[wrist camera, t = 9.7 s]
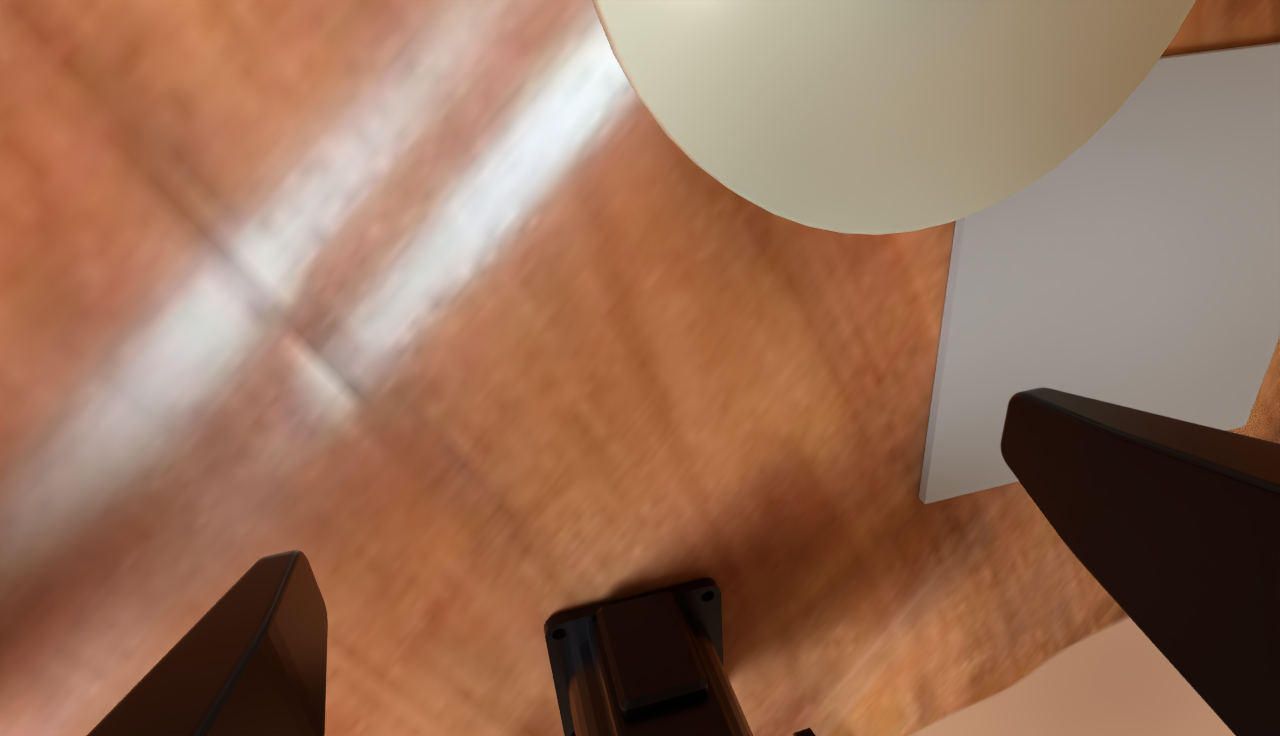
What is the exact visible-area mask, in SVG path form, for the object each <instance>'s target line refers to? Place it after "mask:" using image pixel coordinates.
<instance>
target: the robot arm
mask: <svg viewBox="0 0 1280 736" xmlns="http://www.w3.org/2000/svg"><path fill="white" fill-rule="evenodd" d="M1000 447H1001V453H1002V457H1003V459H1004V461H1005V463H1006V464H1007V466H1008V467H1009V468H1010V470H1011V471H1012V472H1013V474H1014V475H1015V476H1016V478H1017V479H1018V480H1019V482H1020V483H1021V484H1022V486H1023V487H1024V488H1025V490H1026V491H1027V493H1028V494H1029V495H1030V497H1031V498H1032V499H1033V501H1034V502H1035V503H1036V505H1037V506H1038V507H1039V509H1040V510H1041V511H1042V513H1043V514H1044V516H1045V517H1046V518H1047V520H1048V521H1049V522H1050V524H1051V525H1052V526H1053V528H1054V529H1055V530H1056V532H1057V533H1058V534H1059V536H1060V537H1061V538H1062V540H1063V541H1064V542H1065V544H1066V545H1067V546H1068V547H1069V549H1070V550H1071V551H1072V553H1073V554H1074V555H1075V556H1076V557H1077V558H1078V560H1079V561H1080V562H1081V563H1082V564H1083V565H1084V567H1085V568H1086V569H1087V570H1088V571H1089V572H1090V573H1091V574H1092V576H1093V577H1094V578H1095V579H1096V580H1097V581H1098V582H1099V583H1100V585H1101V586H1102V587H1103V588H1104V589H1105V590H1106V591H1107V592H1108V593H1109V595H1110V596H1111V597H1112V598H1113V599H1114V600H1115V601H1116V602H1117V604H1118V605H1119V606H1120V607H1121V608H1122V609H1123V610H1124V611H1125V612H1126V614H1127V615H1128V616H1129V617H1130V618H1131V619H1132V620H1133V621H1134V622H1135V624H1136V625H1137V626H1138V627H1139V628H1140V629H1141V630H1142V631H1143V632H1144V634H1145V635H1146V636H1147V637H1148V638H1149V639H1150V640H1151V641H1152V643H1153V644H1154V645H1155V646H1156V647H1157V648H1158V649H1159V650H1160V652H1161V653H1162V654H1163V655H1164V656H1165V657H1166V658H1167V659H1168V660H1169V662H1170V663H1171V664H1172V665H1173V666H1174V667H1175V668H1176V669H1177V671H1179V673H1180V674H1181V675H1182V676H1183V677H1184V678H1185V679H1186V681H1187V682H1188V683H1189V684H1190V685H1191V686H1192V687H1193V688H1194V690H1195V691H1196V692H1197V693H1198V694H1199V695H1200V696H1201V697H1202V699H1203V700H1204V701H1205V702H1206V703H1207V704H1208V705H1209V706H1210V707H1211V709H1213V711H1214V712H1215V713H1216V714H1217V715H1218V716H1219V717H1220V719H1221V720H1222V721H1223V722H1224V723H1225V724H1226V725H1227V726H1228V728H1229V729H1230V730H1231V731H1232V732H1233V733H1234V734H1235V735H1236V736H1280V444H1278V443H1274V442H1270V441H1266V440H1262V439H1258V438H1254V437H1249V436H1245V435H1241V434H1237V433H1233V432H1229V431H1225V430H1220V429H1216V428H1212V427H1208V426H1204V425H1200V424H1196V423H1191V422H1187V421H1183V420H1179V419H1175V418H1171V417H1166V416H1162V415H1158V414H1154V413H1150V412H1146V411H1142V410H1137V409H1133V408H1129V407H1125V406H1121V405H1117V404H1113V403H1108V402H1104V401H1100V400H1096V399H1092V398H1088V397H1084V396H1079V395H1075V394H1071V393H1067V392H1063V391H1059V390H1055V389H1050V388H1045V387H1042V388H1035V389H1030V390H1026V391H1021V392H1018V393H1016V394H1014V395H1013V396H1012V397H1011V399H1010V400H1009V403H1008V407H1007V412H1006V417H1005V422H1004V427H1003V432H1002V438H1001V444H1000ZM707 591H709V592H707ZM705 592H707V593H705ZM704 593H705V594H704ZM327 629H328V621H327V611H326V606H325V603H324V600H323V597H322V595H321V592H320V590H319V587H318V585H317V582H316V579H315V577H314V574H313V572H312V569H311V567H310V564H309V562H308V559H307V557H306V556H305V555H304V553H303V552H301V551H299V550H292V551H288V552H283V553H278V554H274V555H269V556H265V557H263V558H261V559H259V560H258V561H257V562H256V563H255V564H254V565H253V566H252V567H251V568H250V569H249V570H248V571H247V572H246V573H245V574H244V575H243V576H242V577H241V578H240V579H239V580H238V581H237V582H236V583H235V584H234V585H233V586H232V587H231V589H230V590H229V591H228V592H227V593H226V594H225V595H224V596H223V597H222V598H221V599H220V600H219V601H218V602H217V603H216V604H215V605H214V606H213V607H212V608H211V609H210V610H209V611H208V612H207V613H206V614H205V615H204V616H203V617H202V618H201V619H200V620H199V621H198V622H197V623H196V624H195V625H194V626H193V627H192V628H191V629H190V630H189V631H188V633H187V634H186V635H185V636H184V637H183V638H182V639H181V640H180V641H179V642H178V643H177V644H176V645H175V646H174V647H173V648H172V649H171V650H170V651H169V652H168V653H167V654H166V655H165V656H164V657H163V658H162V659H161V660H160V661H159V662H158V663H157V664H156V665H155V666H154V667H153V668H152V669H151V670H150V671H149V672H148V673H147V674H146V675H145V676H144V678H143V679H142V680H141V681H140V682H139V683H138V684H137V685H136V686H135V687H134V688H133V689H132V690H131V691H130V692H129V693H128V694H127V695H126V696H125V697H124V698H123V699H122V700H121V701H120V702H119V703H118V704H117V705H116V706H115V707H114V708H113V709H112V710H111V711H110V712H109V713H108V714H107V715H106V716H105V717H104V718H103V719H102V720H101V722H100V723H99V724H98V725H97V726H96V727H95V728H94V729H93V730H92V731H91V732H90V733H89V734H88V735H87V736H324V734H325V700H326V664H327ZM557 629H561V630H559V631H555V630H557ZM544 633H545V638H546V643H547V649H548V654H549V659H550V664H551V669H552V674H553V679H554V684H555V689H556V694H557V699H558V704H559V709H560V714H561V719H562V725H563V730H564V735H565V736H753V734H752V732H751V730H750V727H749V725H748V723H747V720H746V718H745V716H744V714H743V711H742V709H741V707H740V704H739V702H738V700H737V697H736V695H735V693H734V691H733V688H732V686H731V684H730V681H729V679H728V677H727V674H726V672H725V670H724V668H723V648H722V616H721V592H720V589H719V587H718V585H717V583H716V581H714V580H713V579H710V578H706V579H700V580H696V581H692V582H688V583H684V584H680V585H676V586H672V587H668V588H664V589H660V590H656V591H652V592H648V593H644V594H640V595H636V596H632V597H628V598H624V599H620V600H616V601H612V602H608V603H604V604H600V605H596V606H592V607H588V608H584V609H580V610H576V611H572V612H568V613H564V614H560V615H556V616H554V617H551V618H550V619H548V620H547V621H546V623H545V624H544ZM793 736H815V734H814V733H813V731H812V730H811V729H810V728H807V729H804V730H801V731H798V732H795V733H794V734H793Z"/></svg>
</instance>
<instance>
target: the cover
mask: <svg viewBox="0 0 1280 736" xmlns="http://www.w3.org/2000/svg"><path fill="white" fill-rule="evenodd" d="M1195 2H1196V0H593V4H594V7H595V9H596V12H597V14H598V17H599V19H600V22H601V24H602V27H603V29H604V31H605V34H606V36H607V39H608V41H609V44H610V46H611V49H612V51H613V54H614V56H615V57H616V59H617V61H618V63H619V65H620V66H621V68H622V70H623V72H624V74H625V75H626V77H627V79H628V81H629V82H630V84H631V86H632V88H633V90H634V91H635V93H636V95H637V97H638V98H639V99H640V101H641V102H642V103H643V105H644V106H645V108H646V109H647V110H648V112H649V113H650V114H651V116H652V117H653V118H654V120H655V121H656V122H657V124H658V125H659V126H660V128H661V129H662V130H663V132H664V133H665V134H666V135H667V136H668V137H669V138H670V139H671V140H672V141H673V142H674V143H675V144H676V145H677V146H678V147H679V148H680V149H681V150H682V151H683V152H684V153H685V154H686V155H687V156H688V157H689V158H690V159H691V160H692V161H693V162H694V163H695V164H696V165H698V166H699V167H700V168H701V169H703V170H704V171H705V172H707V173H708V174H709V175H711V176H712V177H713V178H715V179H716V180H717V181H719V182H720V183H721V184H722V185H724V186H725V187H727V188H728V189H730V190H732V191H733V192H735V193H736V194H738V195H740V196H741V197H743V198H745V199H747V200H749V201H751V202H752V203H754V204H756V205H758V206H760V207H762V208H763V209H765V210H767V211H769V212H771V213H773V214H775V215H778V216H781V217H784V218H786V219H789V220H792V221H795V222H797V223H800V224H803V225H806V226H809V227H814V228H819V229H824V230H830V231H835V232H840V233H852V234H874V235H880V234H890V233H901V232H911V231H917V230H921V229H925V228H930V227H934V226H938V225H942V224H946V223H950V222H953V221H956V220H958V219H961V218H964V217H966V216H969V215H972V214H974V213H977V212H979V211H982V210H985V209H987V208H989V207H991V206H993V205H995V204H996V203H998V202H1000V201H1002V200H1004V199H1006V198H1008V197H1010V196H1012V195H1014V194H1016V193H1018V192H1020V191H1021V190H1023V189H1024V188H1026V187H1027V186H1029V185H1030V184H1032V183H1033V182H1035V181H1036V180H1038V179H1039V178H1041V177H1042V176H1044V175H1045V174H1047V173H1048V172H1050V171H1051V170H1053V169H1054V168H1055V167H1057V166H1058V165H1059V164H1060V163H1061V162H1063V161H1064V160H1065V159H1066V158H1067V157H1069V156H1070V155H1071V154H1072V153H1074V152H1075V151H1076V150H1077V149H1078V148H1080V147H1081V146H1082V145H1083V144H1085V143H1086V142H1087V141H1088V140H1089V139H1090V138H1091V137H1092V136H1093V135H1094V134H1095V133H1096V132H1097V131H1098V130H1099V129H1100V128H1101V127H1102V126H1103V125H1104V124H1105V123H1106V122H1107V121H1108V120H1109V119H1110V118H1111V117H1112V116H1113V115H1114V114H1115V113H1116V112H1117V111H1118V110H1119V109H1120V107H1121V106H1122V105H1123V104H1124V103H1125V101H1126V100H1127V99H1128V98H1129V97H1130V96H1131V94H1132V93H1133V92H1134V91H1135V90H1136V88H1137V87H1138V86H1139V85H1140V84H1141V83H1142V81H1143V80H1144V79H1145V78H1146V77H1147V75H1148V74H1149V72H1150V71H1151V70H1152V68H1153V67H1154V65H1155V64H1156V63H1157V61H1158V60H1159V58H1160V57H1161V56H1162V54H1163V53H1164V51H1165V50H1166V48H1167V47H1168V46H1169V44H1170V43H1171V41H1172V40H1173V39H1174V37H1175V36H1176V34H1177V32H1178V30H1179V29H1180V27H1181V25H1182V24H1183V22H1184V20H1185V19H1186V17H1187V15H1188V14H1189V12H1190V10H1191V9H1192V7H1193V5H1194V3H1195Z"/></svg>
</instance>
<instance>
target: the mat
mask: <svg viewBox="0 0 1280 736" xmlns="http://www.w3.org/2000/svg"><path fill="white" fill-rule="evenodd" d="M1279 338H1280V42H1276V43H1268V44H1260V45H1252V46H1244V47H1235V48H1227V49H1219V50H1211V51H1203V52H1195V53H1187V54H1178V55H1170V56H1162V57H1160V58H1159V60H1158V61H1157V63H1156V64H1155V65H1154V67H1153V68H1152V70H1151V71H1150V72H1149V74H1148V75H1147V77H1146V78H1145V79H1144V80H1143V81H1142V83H1141V84H1140V85H1139V86H1138V87H1137V88H1136V90H1135V91H1134V92H1133V93H1132V94H1131V96H1130V97H1129V98H1128V99H1127V100H1126V101H1125V103H1124V104H1123V105H1122V106H1121V107H1120V109H1119V110H1118V111H1117V112H1116V113H1115V114H1114V115H1113V116H1112V117H1111V118H1110V119H1109V120H1108V121H1107V122H1106V123H1105V124H1104V125H1103V126H1102V127H1101V128H1100V129H1099V130H1098V131H1097V132H1096V133H1095V134H1094V135H1093V136H1092V137H1091V138H1090V139H1089V140H1088V141H1087V142H1086V143H1085V144H1083V145H1082V146H1081V147H1080V148H1078V149H1077V150H1076V151H1075V152H1074V153H1072V154H1071V155H1070V156H1069V157H1067V158H1066V159H1065V160H1064V161H1063V162H1061V163H1060V164H1059V165H1058V166H1057V167H1055V168H1054V169H1053V170H1051V171H1050V172H1048V173H1047V174H1045V175H1044V176H1042V177H1041V178H1039V179H1038V180H1036V181H1035V182H1033V183H1032V184H1030V185H1029V186H1027V187H1026V188H1024V189H1023V190H1021V191H1020V192H1018V193H1016V194H1014V195H1012V196H1010V197H1008V198H1006V199H1004V200H1002V201H1000V202H998V203H996V204H995V205H993V206H991V207H989V208H987V209H985V210H982V211H979V212H977V213H974V214H972V215H969V216H966V217H964V218H961V219H958V220H956V224H955V231H954V239H953V246H952V253H951V261H950V268H949V276H948V283H947V290H946V298H945V305H944V313H943V320H942V327H941V335H940V342H939V350H938V357H937V364H936V372H935V379H934V387H933V394H932V401H931V409H930V416H929V424H928V431H927V438H926V446H925V453H924V461H923V468H922V475H921V483H920V490H919V499H920V500H921V501H922V502H923V503H924V504H928V503H932V502H936V501H941V500H945V499H949V498H953V497H957V496H961V495H965V494H969V493H973V492H977V491H982V490H986V489H990V488H994V487H998V486H1002V485H1006V484H1010V483H1014V482H1018V481H1019V480H1018V479H1017V478H1016V476H1015V475H1014V474H1013V472H1012V471H1011V470H1010V468H1009V467H1008V466H1007V464H1006V463H1005V461H1004V459H1003V457H1002V453H1001V447H1000V444H1001V438H1002V432H1003V427H1004V422H1005V417H1006V412H1007V407H1008V403H1009V400H1010V399H1011V397H1012V396H1013V395H1014V394H1016V393H1018V392H1021V391H1026V390H1030V389H1035V388H1042V387H1045V388H1050V389H1055V390H1059V391H1063V392H1067V393H1071V394H1075V395H1079V396H1084V397H1088V398H1092V399H1096V400H1100V401H1104V402H1108V403H1113V404H1117V405H1121V406H1125V407H1129V408H1133V409H1137V410H1142V411H1146V412H1150V413H1154V414H1158V415H1162V416H1166V417H1171V418H1175V419H1179V420H1183V421H1187V422H1191V423H1196V424H1200V425H1204V426H1208V427H1212V428H1216V429H1220V430H1225V431H1227V430H1232V429H1236V428H1240V427H1244V426H1246V424H1247V421H1248V418H1249V416H1250V413H1251V411H1252V408H1253V405H1254V403H1255V400H1256V397H1257V395H1258V392H1259V390H1260V387H1261V384H1262V382H1263V379H1264V377H1265V374H1266V371H1267V369H1268V366H1269V364H1270V361H1271V358H1272V356H1273V353H1274V351H1275V348H1276V345H1277V343H1278V340H1279Z"/></svg>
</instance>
